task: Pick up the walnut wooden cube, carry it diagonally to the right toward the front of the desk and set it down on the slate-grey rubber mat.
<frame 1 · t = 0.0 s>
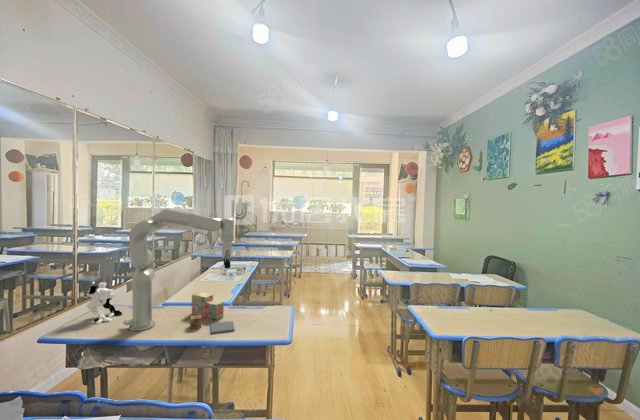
hand: (226, 266, 183), 31 cm above the table, tool pointing down, fingers open, 9 cm apart
stack of blocks: (207, 315, 187), on the table
walnut cube: (195, 326, 169), on the table
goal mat: (222, 328, 168), on the table
robot toy: (104, 318, 180), on the table
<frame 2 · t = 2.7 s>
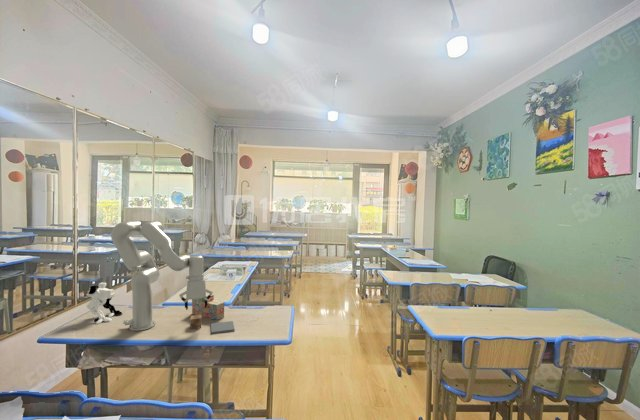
hand: (196, 307, 169), 10 cm above the table, tool pointing down, fingers open, 9 cm apart
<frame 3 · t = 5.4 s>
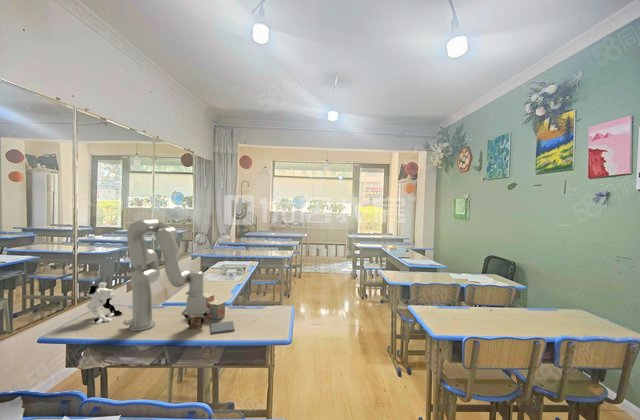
hand: (195, 324, 169), 1 cm above the table, tool pointing down, fingers closed on walnut cube, 5 cm apart
walnut cube: (195, 326, 169), on the table, touching gripper
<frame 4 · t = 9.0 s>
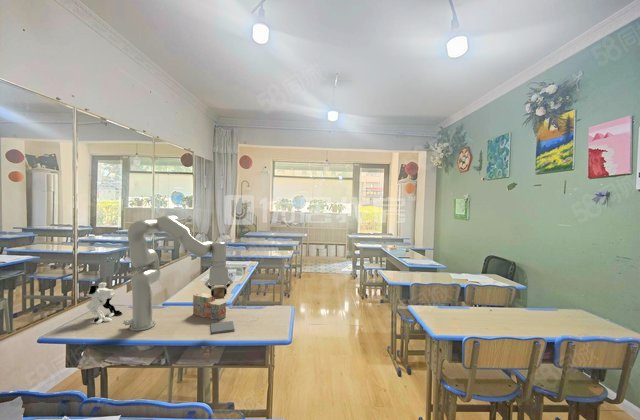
hand: (218, 295, 168), 18 cm above the table, tool pointing down, fingers closed on walnut cube, 5 cm apart
walnut cube: (218, 297, 168), point 17 cm above the table, touching gripper
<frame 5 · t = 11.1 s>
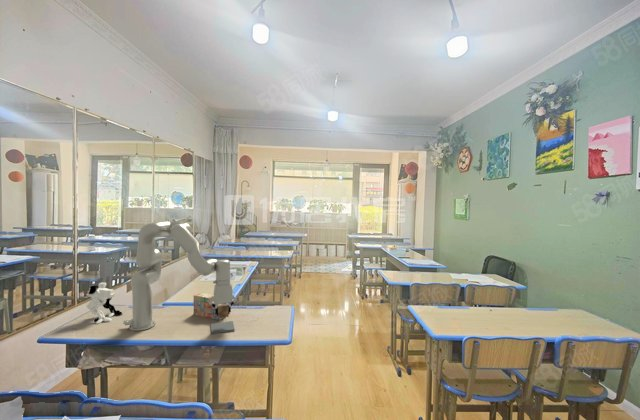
hand: (223, 314, 168), 8 cm above the table, tool pointing down, fingers closed on walnut cube, 5 cm apart
walnut cube: (223, 315, 168), point 7 cm above the table, touching gripper
when the fingers open (3 cm above the table, at t = 12.9 s): walnut cube drops 1 cm, resting on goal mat.
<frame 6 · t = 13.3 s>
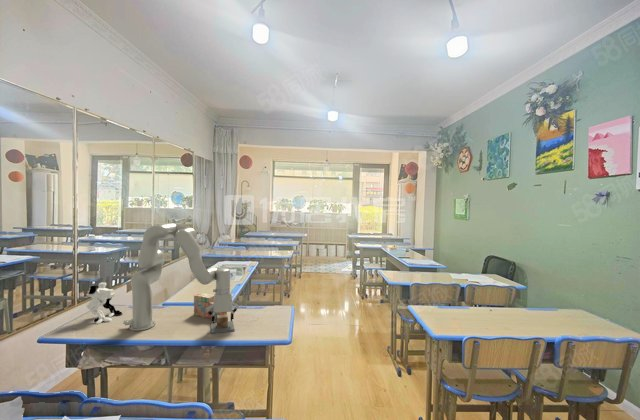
hand: (222, 321, 168), 4 cm above the table, tool pointing down, fingers open, 9 cm apart
walnut cube: (222, 326, 168), point 1 cm above the table, touching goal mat
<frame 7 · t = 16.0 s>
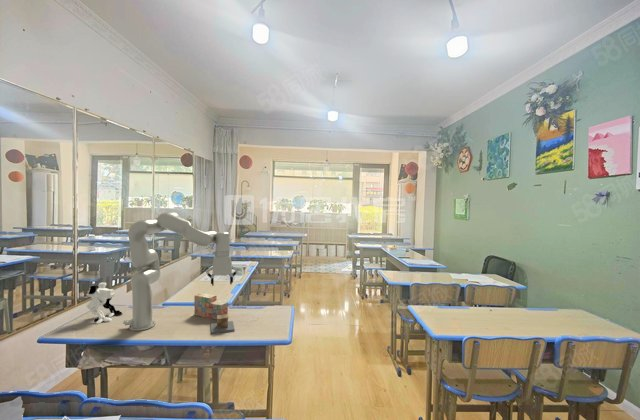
hand: (221, 284, 168), 24 cm above the table, tool pointing down, fingers open, 9 cm apart
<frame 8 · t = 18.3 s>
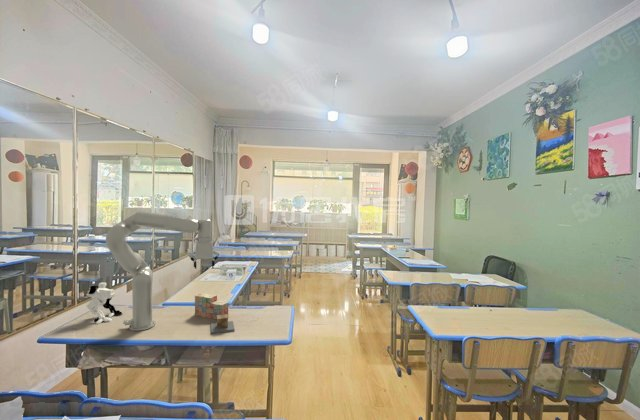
hand: (204, 267, 182), 30 cm above the table, tool pointing down, fingers open, 9 cm apart
at the end: walnut cube 0.1 cm off-centre on the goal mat, point 1.0 cm above the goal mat's base; walnut cube tilted 0°; the gripper is holding nothing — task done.
